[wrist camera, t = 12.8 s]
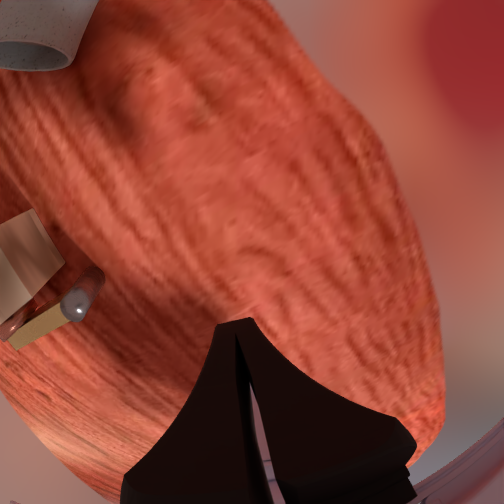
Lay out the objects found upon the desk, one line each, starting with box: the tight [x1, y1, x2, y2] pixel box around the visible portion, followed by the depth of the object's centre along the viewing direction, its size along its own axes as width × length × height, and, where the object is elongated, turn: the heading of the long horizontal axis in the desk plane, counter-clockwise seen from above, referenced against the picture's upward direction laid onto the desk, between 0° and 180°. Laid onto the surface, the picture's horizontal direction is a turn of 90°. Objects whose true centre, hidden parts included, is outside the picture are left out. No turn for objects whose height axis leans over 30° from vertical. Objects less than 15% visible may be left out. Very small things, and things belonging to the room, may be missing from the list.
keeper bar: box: [7, 266, 105, 351], centre depth 16 cm, size 10×2×5 cm, turn 114°
